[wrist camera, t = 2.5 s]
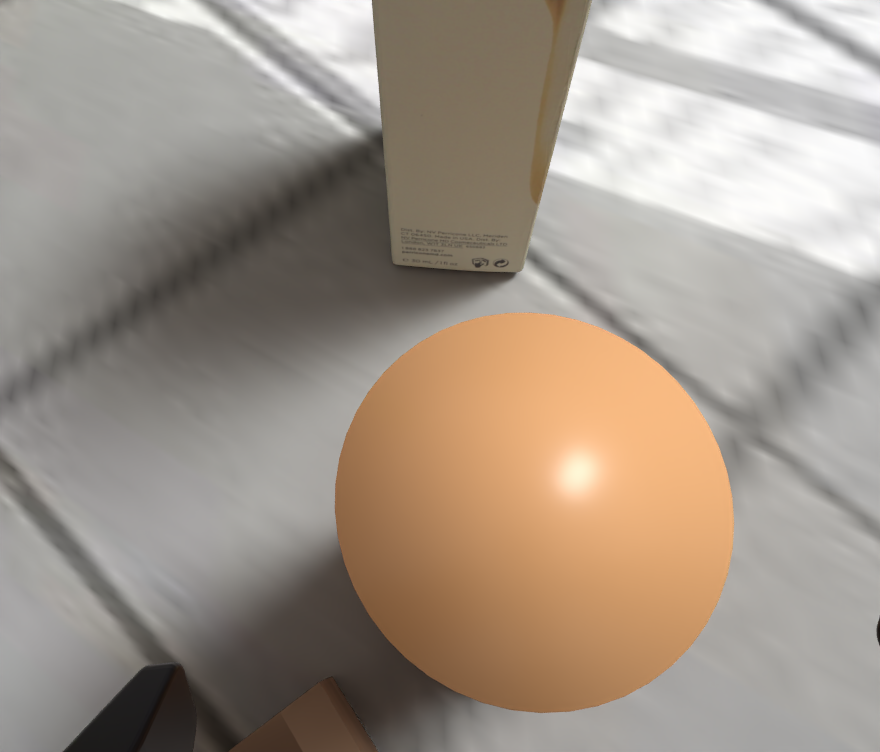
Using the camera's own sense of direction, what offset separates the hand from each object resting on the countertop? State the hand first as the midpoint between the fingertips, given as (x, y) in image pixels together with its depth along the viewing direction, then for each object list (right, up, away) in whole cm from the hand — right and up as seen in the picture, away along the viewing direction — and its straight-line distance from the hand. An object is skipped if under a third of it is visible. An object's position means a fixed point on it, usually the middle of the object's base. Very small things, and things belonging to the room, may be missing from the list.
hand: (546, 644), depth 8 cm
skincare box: (-1, +9, +14) cm, 17 cm away
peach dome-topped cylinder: (0, -2, +9) cm, 9 cm away
